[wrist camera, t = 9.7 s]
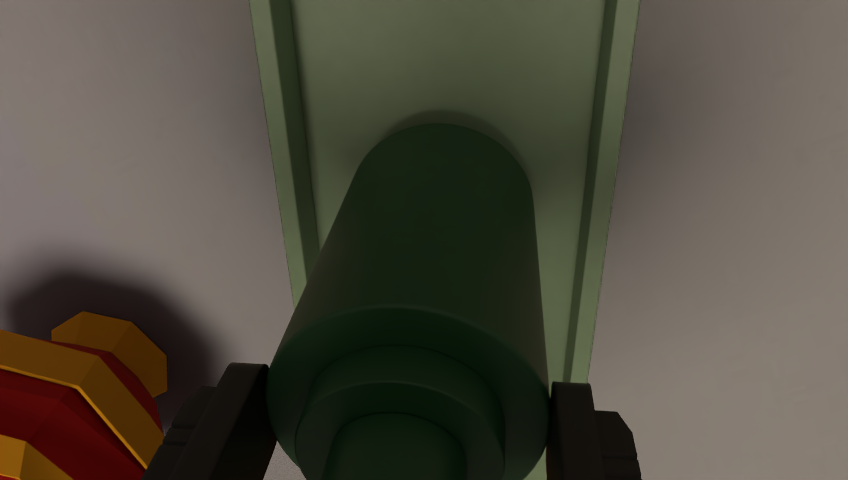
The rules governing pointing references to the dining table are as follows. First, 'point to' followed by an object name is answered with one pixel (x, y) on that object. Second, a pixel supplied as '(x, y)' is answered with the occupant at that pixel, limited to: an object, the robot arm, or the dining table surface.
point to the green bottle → (420, 322)
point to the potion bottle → (80, 401)
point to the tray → (457, 121)
